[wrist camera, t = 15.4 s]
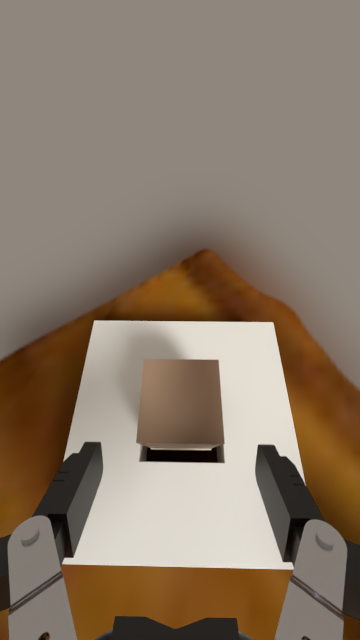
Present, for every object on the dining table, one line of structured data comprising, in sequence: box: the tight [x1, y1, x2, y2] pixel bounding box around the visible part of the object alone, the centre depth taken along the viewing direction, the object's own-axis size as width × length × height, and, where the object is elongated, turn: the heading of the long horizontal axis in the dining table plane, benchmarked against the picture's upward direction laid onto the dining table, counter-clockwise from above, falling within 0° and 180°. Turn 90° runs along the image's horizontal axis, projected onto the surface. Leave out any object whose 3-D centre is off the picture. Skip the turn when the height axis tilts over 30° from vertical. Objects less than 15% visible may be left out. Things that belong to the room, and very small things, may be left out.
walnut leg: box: [136, 359, 225, 451], centre depth 19 cm, size 5×5×12 cm
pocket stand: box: [62, 321, 306, 569], centre depth 22 cm, size 18×18×4 cm
